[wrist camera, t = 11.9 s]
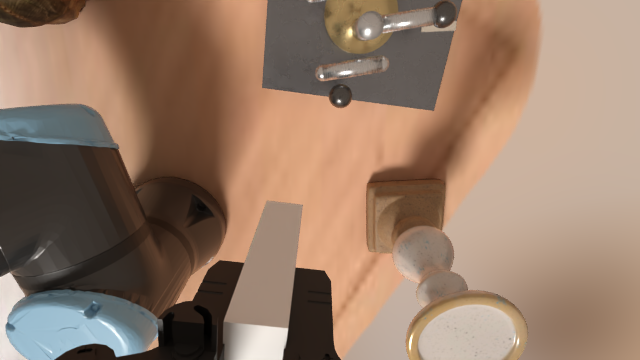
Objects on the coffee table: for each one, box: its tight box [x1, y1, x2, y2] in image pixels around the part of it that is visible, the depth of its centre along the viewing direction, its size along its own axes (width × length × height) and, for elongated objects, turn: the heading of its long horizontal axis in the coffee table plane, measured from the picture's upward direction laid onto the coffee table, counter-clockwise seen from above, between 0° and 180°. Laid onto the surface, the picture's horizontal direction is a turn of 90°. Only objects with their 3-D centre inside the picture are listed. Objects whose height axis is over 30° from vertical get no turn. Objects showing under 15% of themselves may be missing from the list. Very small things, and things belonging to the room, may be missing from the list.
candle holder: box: [366, 179, 528, 360], centre depth 39 cm, size 11×11×24 cm
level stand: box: [262, 0, 462, 111], centre depth 39 cm, size 22×16×4 cm
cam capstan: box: [307, 0, 457, 108], centre depth 35 cm, size 14×14×9 cm
